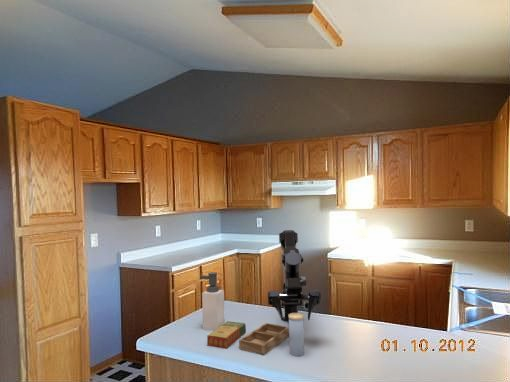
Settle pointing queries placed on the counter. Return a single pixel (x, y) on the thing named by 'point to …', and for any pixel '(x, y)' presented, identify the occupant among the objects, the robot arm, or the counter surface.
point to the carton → (226, 334)
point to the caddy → (264, 338)
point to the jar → (296, 334)
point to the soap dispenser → (212, 304)
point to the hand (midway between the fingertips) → (295, 319)
